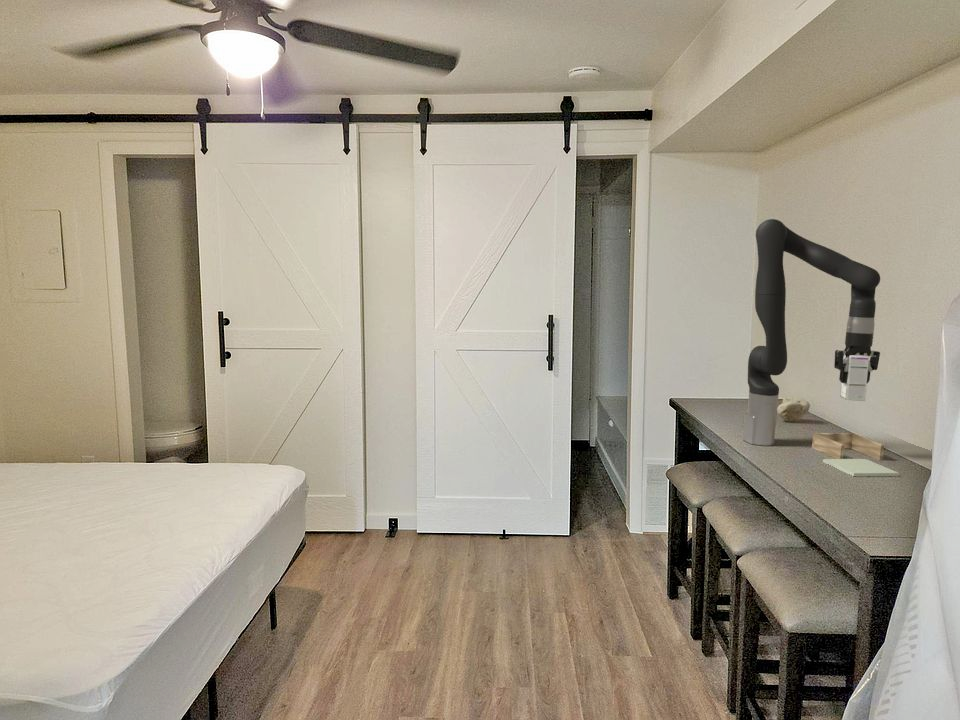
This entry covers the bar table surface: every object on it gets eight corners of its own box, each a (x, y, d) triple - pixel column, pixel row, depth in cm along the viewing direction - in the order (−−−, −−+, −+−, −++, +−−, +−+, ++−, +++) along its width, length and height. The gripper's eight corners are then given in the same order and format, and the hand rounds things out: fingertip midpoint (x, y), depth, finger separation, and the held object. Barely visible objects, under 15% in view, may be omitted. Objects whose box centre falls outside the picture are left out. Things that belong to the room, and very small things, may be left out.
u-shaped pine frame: (839, 460, 201) (841, 444, 200) (811, 447, 215) (813, 433, 214) (882, 460, 202) (884, 444, 202) (851, 447, 216) (853, 433, 216)
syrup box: (865, 401, 202) (870, 355, 200) (845, 400, 203) (850, 354, 201) (858, 397, 208) (863, 353, 206) (839, 396, 209) (843, 352, 207)
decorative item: (803, 420, 256) (805, 395, 255) (811, 425, 248) (814, 400, 246) (771, 418, 258) (773, 394, 256) (778, 423, 249) (781, 398, 248)
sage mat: (853, 476, 185) (853, 473, 184) (823, 462, 198) (823, 459, 198) (898, 476, 186) (898, 472, 186) (865, 461, 200) (865, 458, 200)
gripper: (846, 332, 198) (840, 384, 200) (889, 332, 199) (883, 385, 202) (831, 329, 205) (825, 380, 208) (872, 330, 207) (866, 381, 209)
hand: (854, 382), depth 205 cm, fingers closed on syrup box, 6 cm apart
